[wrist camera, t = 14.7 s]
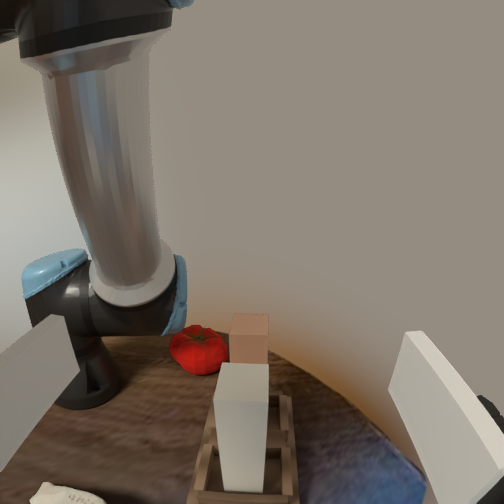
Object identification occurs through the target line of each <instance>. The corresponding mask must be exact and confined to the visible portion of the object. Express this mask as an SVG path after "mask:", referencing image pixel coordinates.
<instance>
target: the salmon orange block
mask: <svg viewBox="0 0 504 504" xmlns="http://www.w3.org/2000/svg"><path fill="white" fill-rule="evenodd" d="M229 350H230V363H246V364H267V359H268V314H237V313H234V315H233V320H232V324H231V328H230V332H229Z"/></svg>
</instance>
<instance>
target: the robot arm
mask: <svg viewBox="0 0 504 504" xmlns="http://www.w3.org/2000/svg"><path fill="white" fill-rule="evenodd" d="M193 1H194V0H0V44H1V43H3V42H6V41H9V40H11V39H14V38H17V37H18V38H19V39H18V40H19V49H20V59H21V62H23V63H24V64H26V65H28V66H30V67H32V68H34V69H35V70H37V71H39V72H40V73H41V75H42V80H43V86H44V93H45V99H46V105H47V110H48V116H49V120H50V126H51V131H52V135H53V139H54V144H55V147H56V152H57V155H58V159H59V163H60V167H61V170H62V174H63V177H64V181H65V184H66V188H67V191H68V194H69V197H70V200H71V203H72V206H73V209H74V212H75V215H76V217H77V220H78V223H79V226H80V229H81V231H82V234H83V236H84V239H85V242H86V244H87V247H88V249H89V252H90V254H91V257H92V260H88V254H87V253H86V251H85V250H84V249H71V250H66V251H62V252H58V253H54V254H51V255H48V256H45V257H43V258H40V259H38V260H36V261H34V262H32V263H30V264H29V265H27V266H26V267H25V268H24V270H23V272H22V286H23V293H24V296H23V297H24V299H25V301H26V305H27V309H28V313H29V316H30V320H31V324H32V327H33V328H32V329H31V330H30V331H29V332H27V333H26V334H25V335H23V336H22V337H21V338H20V339H18V340H17V341H16V342H15V343H13V344H12V345H11V346H10V347H9V348H7V349H6V350H5V351H4V352H2V353H1V354H0V472H1V471H2V470H3V469H4V467H5V466H6V464H7V463H8V462H9V460H10V459H11V458H12V456H13V455H14V453H15V452H16V451H17V449H18V448H19V447H20V445H21V444H22V443H23V441H24V440H25V439H26V437H27V436H28V435H29V433H30V432H31V431H32V430H33V428H34V427H35V426H36V424H37V423H38V422H39V421H40V419H41V418H42V417H43V415H44V414H45V413H46V412H47V410H48V409H49V408H50V407H51V405H52V404H53V403H55V404H57V405H59V406H61V407H64V408H67V409H75V410H80V409H88V408H92V407H96V406H98V405H101V404H103V403H105V402H106V401H108V400H109V399H110V398H112V397H113V396H114V395H115V394H116V392H117V391H118V390H119V388H120V385H121V374H120V371H119V367H118V365H117V363H116V361H115V360H114V358H113V357H112V355H111V354H110V352H109V350H108V349H107V347H106V346H105V344H104V343H103V341H102V338H101V337H103V336H152V335H157V336H164V335H167V334H176V333H179V332H181V331H182V330H183V328H184V326H185V322H186V312H187V304H186V301H187V271H186V263H185V260H184V258H183V257H181V256H177V255H175V254H173V253H172V251H171V249H170V247H169V246H168V245H167V244H166V243H165V242H164V241H163V240H162V239H160V236H159V228H158V219H157V211H156V201H155V191H154V180H153V168H152V154H151V137H150V112H149V53H150V50H151V48H152V46H153V45H154V44H156V43H157V42H158V41H159V40H160V39H161V38H162V37H163V36H164V35H165V34H166V33H168V32H169V31H170V30H171V22H172V11H173V8H177V9H181V8H183V7H188V6H190V5H191V4H192V3H193ZM388 391H389V393H390V395H391V397H392V399H393V401H394V403H395V405H396V407H397V409H398V411H399V413H400V416H401V418H402V420H403V422H404V424H405V426H406V429H407V431H408V433H409V435H410V437H411V440H412V442H413V444H414V446H415V449H416V451H417V453H418V456H419V458H420V460H421V463H422V465H423V467H424V469H425V472H426V474H427V477H428V479H429V482H430V484H431V487H432V489H433V491H434V494H435V497H436V499H437V502H438V504H476V503H477V504H504V418H503V416H502V415H501V416H500V412H499V411H498V410H497V408H496V407H495V406H494V404H493V403H492V402H490V401H489V400H487V399H486V398H485V397H483V396H482V395H479V396H475V394H474V393H473V392H472V390H471V389H470V388H469V387H468V385H467V384H466V383H465V381H464V380H463V379H462V378H461V377H460V375H459V374H458V373H457V372H456V370H455V369H454V368H453V367H452V365H451V364H450V363H449V362H448V361H447V359H446V358H445V357H444V356H443V354H442V353H441V352H440V351H439V350H438V349H437V347H436V346H435V345H434V344H433V343H432V342H431V340H430V339H429V338H428V337H427V336H426V335H425V334H424V332H423V331H413V332H405V335H404V339H403V342H402V346H401V349H400V353H399V357H398V360H397V363H396V366H395V370H394V372H393V376H392V379H391V382H390V385H389V387H388Z"/></svg>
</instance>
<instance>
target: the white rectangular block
mask: <svg viewBox="0 0 504 504" xmlns="http://www.w3.org/2000/svg"><path fill="white" fill-rule="evenodd" d="M268 384H269V366H268V364H246V363H224V362H222V365H221V369H220V374H219V378H218V382H217V386H216V390H215V395H214V399H213V402H214V411H215V421H216V430H217V439H218V447H219V455H220V463H221V470H222V478H223V485H224V491H225V493H233V494H251V495H262V493H263V480H264V466H265V451H266V436H267V419H268Z"/></svg>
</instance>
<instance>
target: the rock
mask: <svg viewBox="0 0 504 504" xmlns="http://www.w3.org/2000/svg"><path fill="white" fill-rule="evenodd" d="M30 503H31V504H107V503H106V502H105V501H104V500H103V499H101V498H100V497H98V496H96V495H94V494H91V493H88V492H85V491H80V490H76V489H73V488H69V487H65V486H55V485H53V484H52V483H50V482H43V484H42V486H41V487H40V489H39V490H38V492H37V494H36V495H34V496H33V497H32V498H31V499H30Z"/></svg>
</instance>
